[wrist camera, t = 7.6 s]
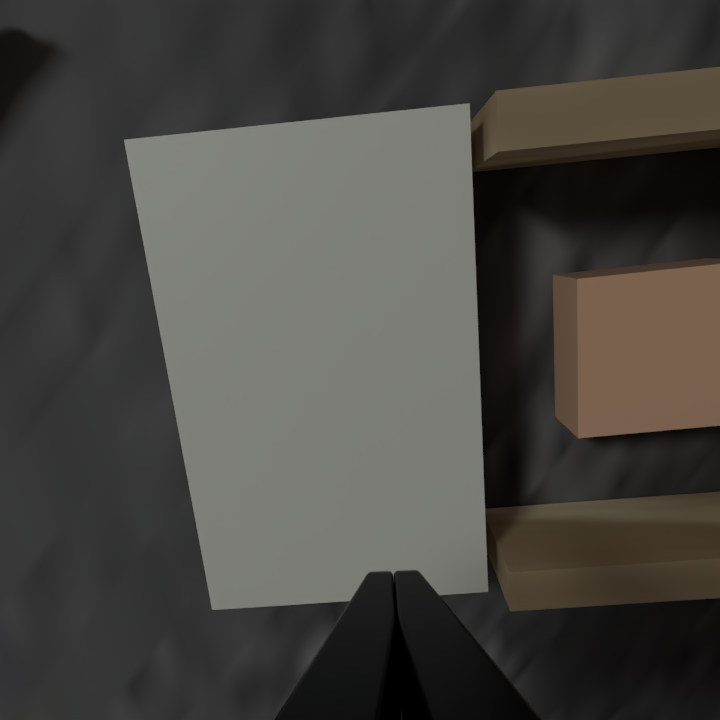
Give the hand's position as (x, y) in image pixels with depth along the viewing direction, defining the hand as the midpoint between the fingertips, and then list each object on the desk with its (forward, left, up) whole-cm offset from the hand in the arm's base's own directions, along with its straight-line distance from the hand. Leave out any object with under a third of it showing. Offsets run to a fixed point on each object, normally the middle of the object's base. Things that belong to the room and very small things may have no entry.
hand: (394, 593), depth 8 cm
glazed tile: (+1, -9, -9) cm, 13 cm away
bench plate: (+1, +2, -11) cm, 11 cm away
